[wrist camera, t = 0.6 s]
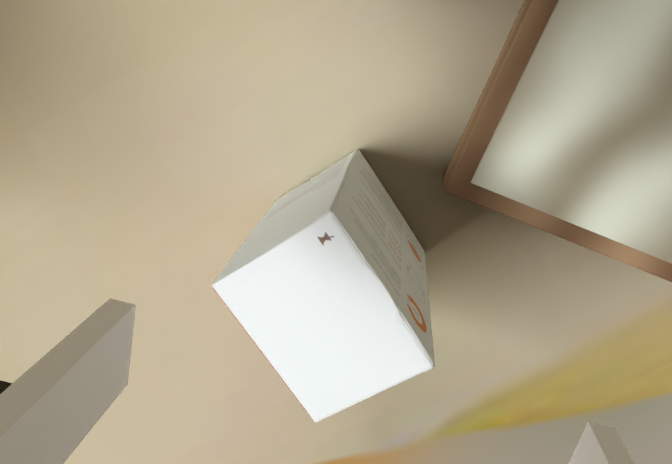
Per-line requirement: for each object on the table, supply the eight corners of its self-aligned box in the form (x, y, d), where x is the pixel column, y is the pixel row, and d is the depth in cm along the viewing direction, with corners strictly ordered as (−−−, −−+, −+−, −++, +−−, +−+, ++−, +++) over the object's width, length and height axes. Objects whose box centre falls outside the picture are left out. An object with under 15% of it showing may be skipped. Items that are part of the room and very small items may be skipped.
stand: (442, 178, 33) (446, 192, 30) (556, -67, 28) (574, -81, 25) (656, 264, 33) (682, 287, 30) (805, 35, 28) (854, 34, 25)
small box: (275, 199, 35) (205, 283, 23) (359, 146, 33) (332, 206, 21) (344, 299, 37) (314, 428, 24) (427, 253, 35) (440, 367, 23)
